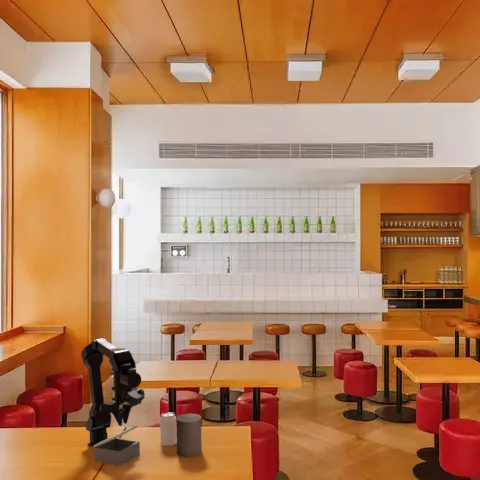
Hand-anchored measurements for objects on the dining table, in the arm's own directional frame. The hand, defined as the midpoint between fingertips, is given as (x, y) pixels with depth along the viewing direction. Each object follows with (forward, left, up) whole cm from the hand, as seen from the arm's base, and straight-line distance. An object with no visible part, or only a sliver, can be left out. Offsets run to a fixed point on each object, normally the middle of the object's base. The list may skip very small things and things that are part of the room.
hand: (122, 424), depth 218 cm
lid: (-3, 0, -5) cm, 6 cm away
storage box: (-3, 0, -13) cm, 13 cm away
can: (+7, +20, -13) cm, 25 cm away
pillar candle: (+20, +15, -13) cm, 28 cm away
